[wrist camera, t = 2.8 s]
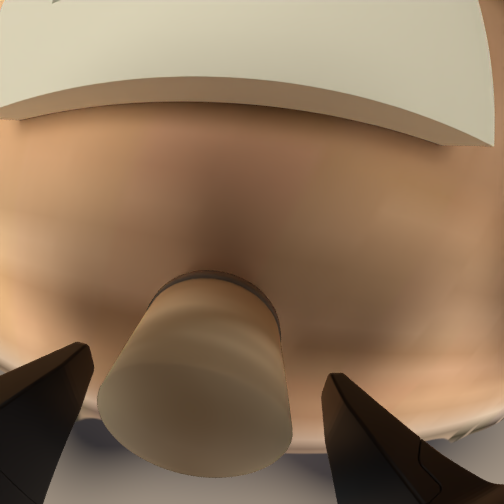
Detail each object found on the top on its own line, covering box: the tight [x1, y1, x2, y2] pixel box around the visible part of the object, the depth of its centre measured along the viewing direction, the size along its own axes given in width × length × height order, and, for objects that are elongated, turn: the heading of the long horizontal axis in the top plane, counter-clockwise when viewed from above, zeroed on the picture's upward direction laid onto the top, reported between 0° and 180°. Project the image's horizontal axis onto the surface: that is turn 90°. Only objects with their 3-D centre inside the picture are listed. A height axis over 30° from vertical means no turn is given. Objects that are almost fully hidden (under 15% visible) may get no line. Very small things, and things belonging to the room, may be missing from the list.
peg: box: [97, 270, 292, 478], centre depth 9 cm, size 5×5×7 cm
